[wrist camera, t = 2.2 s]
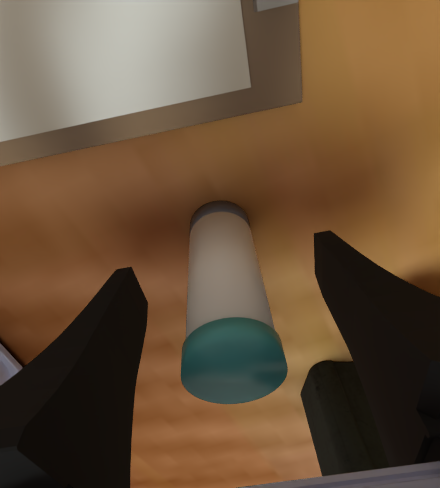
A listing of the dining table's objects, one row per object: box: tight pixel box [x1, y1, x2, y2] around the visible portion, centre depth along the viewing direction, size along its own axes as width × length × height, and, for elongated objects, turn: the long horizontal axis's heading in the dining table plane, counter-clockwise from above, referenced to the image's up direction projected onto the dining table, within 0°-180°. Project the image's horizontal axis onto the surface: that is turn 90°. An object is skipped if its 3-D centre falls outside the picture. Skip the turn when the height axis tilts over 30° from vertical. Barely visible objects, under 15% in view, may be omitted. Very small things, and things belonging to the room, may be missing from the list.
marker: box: [181, 201, 287, 404], centre depth 12 cm, size 3×3×8 cm
